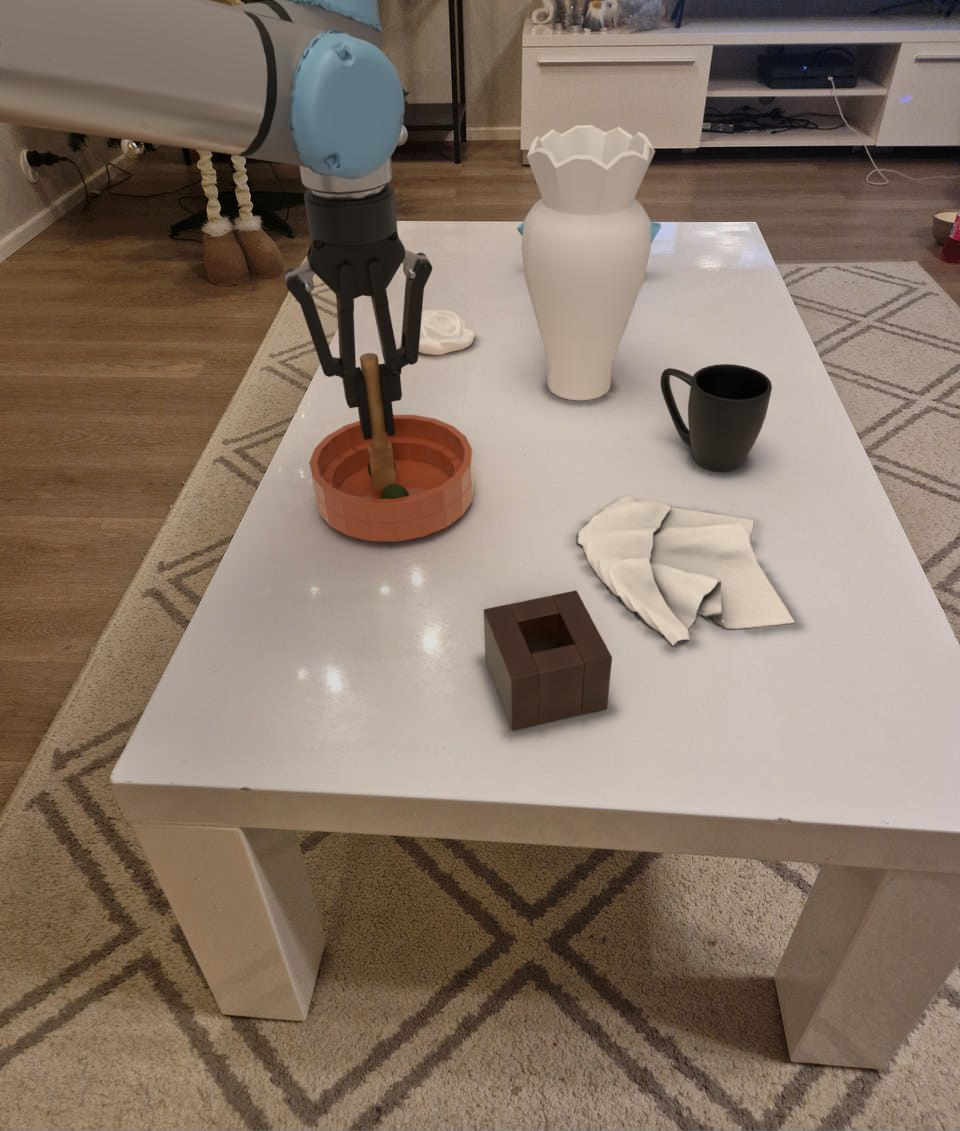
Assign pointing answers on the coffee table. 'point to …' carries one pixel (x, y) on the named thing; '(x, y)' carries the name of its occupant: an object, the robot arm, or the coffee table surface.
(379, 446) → the stick
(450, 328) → the rose
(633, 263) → the vase
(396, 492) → the olive
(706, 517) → the cloth
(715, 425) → the mug
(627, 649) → the coffee table surface
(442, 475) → the bowl
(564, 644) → the holder
